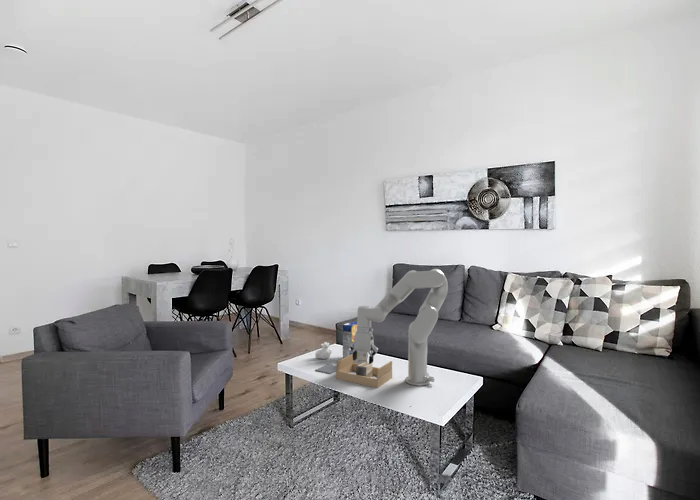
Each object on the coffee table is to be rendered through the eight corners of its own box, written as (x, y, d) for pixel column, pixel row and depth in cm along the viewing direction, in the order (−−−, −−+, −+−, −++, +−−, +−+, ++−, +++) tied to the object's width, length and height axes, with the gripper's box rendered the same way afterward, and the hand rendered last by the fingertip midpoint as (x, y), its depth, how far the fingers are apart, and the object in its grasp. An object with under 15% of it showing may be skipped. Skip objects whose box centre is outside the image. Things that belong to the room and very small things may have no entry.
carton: (392, 377, 211) (392, 361, 211) (378, 387, 197) (378, 369, 197) (352, 369, 224) (352, 354, 224) (336, 378, 210) (336, 361, 210)
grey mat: (341, 368, 227) (341, 366, 227) (330, 374, 217) (330, 372, 217) (327, 365, 232) (327, 364, 232) (315, 370, 222) (315, 369, 222)
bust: (316, 363, 242) (322, 351, 236) (311, 353, 246) (317, 342, 241) (332, 360, 249) (339, 348, 244) (326, 350, 254) (333, 338, 248)
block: (372, 376, 213) (372, 363, 213) (364, 381, 206) (364, 368, 205) (364, 375, 216) (364, 362, 216) (355, 380, 208) (356, 366, 208)
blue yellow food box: (342, 360, 241) (342, 324, 240) (353, 356, 250) (353, 321, 249) (351, 362, 237) (351, 326, 236) (362, 358, 246) (362, 323, 245)
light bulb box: (368, 365, 233) (368, 347, 232) (367, 369, 226) (367, 350, 226) (350, 364, 234) (350, 346, 233) (348, 368, 227) (348, 349, 227)
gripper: (381, 330, 209) (380, 362, 209) (353, 325, 218) (352, 356, 218) (375, 333, 202) (373, 366, 203) (346, 328, 211) (345, 360, 212)
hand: (362, 361), depth 211 cm, fingers open, 9 cm apart
